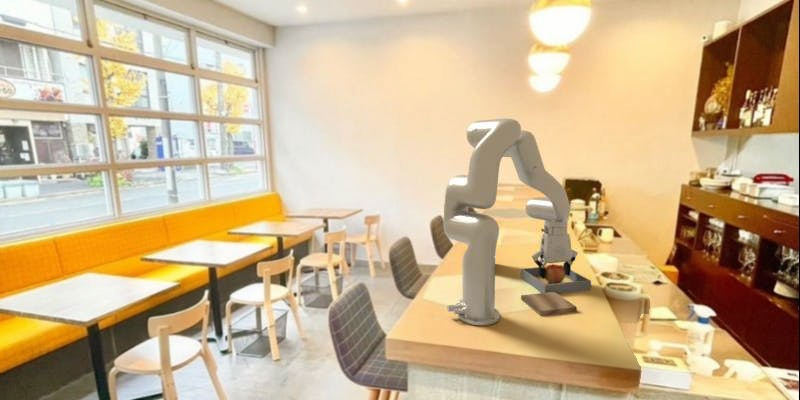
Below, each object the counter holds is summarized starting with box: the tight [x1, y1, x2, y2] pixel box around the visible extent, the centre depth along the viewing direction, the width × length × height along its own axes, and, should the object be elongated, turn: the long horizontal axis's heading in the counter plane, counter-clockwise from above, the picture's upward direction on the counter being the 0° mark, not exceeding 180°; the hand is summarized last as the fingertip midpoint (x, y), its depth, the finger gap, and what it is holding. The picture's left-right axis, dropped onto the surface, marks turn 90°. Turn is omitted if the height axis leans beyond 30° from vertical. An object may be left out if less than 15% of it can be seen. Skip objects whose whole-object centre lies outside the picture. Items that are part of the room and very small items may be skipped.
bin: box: [520, 264, 592, 295], centre depth 138 cm, size 17×17×4 cm
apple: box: [544, 263, 566, 284], centre depth 138 cm, size 7×7×8 cm
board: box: [520, 292, 577, 317], centre depth 121 cm, size 12×12×2 cm
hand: (554, 275), depth 138 cm, fingers open, 9 cm apart
